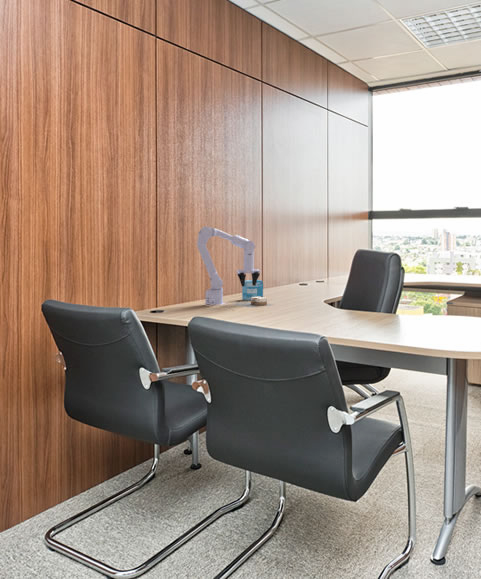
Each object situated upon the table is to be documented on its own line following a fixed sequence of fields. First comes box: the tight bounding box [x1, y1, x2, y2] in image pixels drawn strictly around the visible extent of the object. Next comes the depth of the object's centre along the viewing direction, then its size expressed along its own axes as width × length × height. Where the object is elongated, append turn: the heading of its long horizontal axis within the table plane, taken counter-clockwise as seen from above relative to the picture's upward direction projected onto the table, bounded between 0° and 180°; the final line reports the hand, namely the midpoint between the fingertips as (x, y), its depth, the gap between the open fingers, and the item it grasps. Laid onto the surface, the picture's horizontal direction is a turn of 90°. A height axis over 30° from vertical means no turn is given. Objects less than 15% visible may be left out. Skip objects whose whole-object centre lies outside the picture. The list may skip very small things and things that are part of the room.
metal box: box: [250, 296, 268, 307], centre depth 305 cm, size 8×5×4 cm, turn 35°
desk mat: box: [233, 301, 274, 308], centre depth 307 cm, size 18×17×1 cm
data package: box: [241, 279, 264, 301], centre depth 328 cm, size 12×4×12 cm, turn 120°
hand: (248, 285), depth 312 cm, fingers open, 7 cm apart
